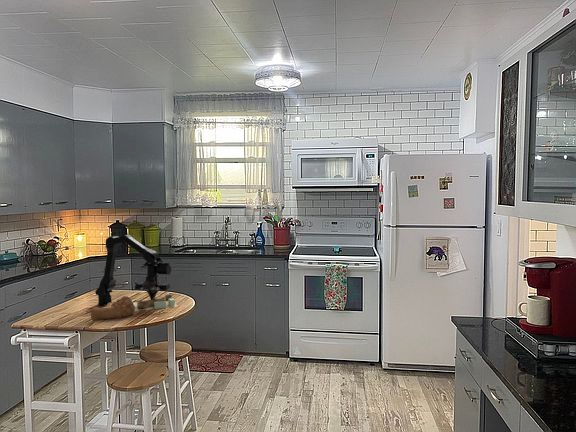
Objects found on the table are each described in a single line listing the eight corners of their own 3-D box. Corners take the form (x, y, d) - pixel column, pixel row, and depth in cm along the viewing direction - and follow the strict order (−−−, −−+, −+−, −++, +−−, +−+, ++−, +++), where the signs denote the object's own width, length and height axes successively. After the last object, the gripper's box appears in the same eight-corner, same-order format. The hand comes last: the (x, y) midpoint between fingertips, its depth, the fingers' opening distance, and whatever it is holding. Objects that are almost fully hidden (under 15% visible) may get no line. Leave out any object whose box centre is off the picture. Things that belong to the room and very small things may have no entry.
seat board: (134, 313, 250) (134, 305, 249) (130, 304, 269) (130, 297, 268) (178, 308, 259) (178, 300, 259) (171, 300, 278) (171, 293, 278)
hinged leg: (140, 309, 252) (140, 302, 252) (135, 308, 255) (135, 301, 255) (165, 302, 266) (164, 296, 265) (160, 302, 268) (160, 295, 268)
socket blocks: (154, 308, 254) (154, 302, 254) (152, 306, 260) (152, 300, 260) (175, 306, 258) (175, 300, 258) (173, 303, 264) (173, 298, 264)
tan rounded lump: (128, 328, 234) (139, 312, 248) (125, 310, 230) (136, 294, 244) (91, 327, 236) (104, 311, 249) (88, 309, 232) (101, 293, 246)
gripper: (129, 276, 257) (130, 304, 258) (161, 277, 254) (162, 305, 255) (139, 272, 268) (139, 299, 269) (170, 273, 265) (170, 301, 266)
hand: (152, 301), depth 265 cm, fingers closed
